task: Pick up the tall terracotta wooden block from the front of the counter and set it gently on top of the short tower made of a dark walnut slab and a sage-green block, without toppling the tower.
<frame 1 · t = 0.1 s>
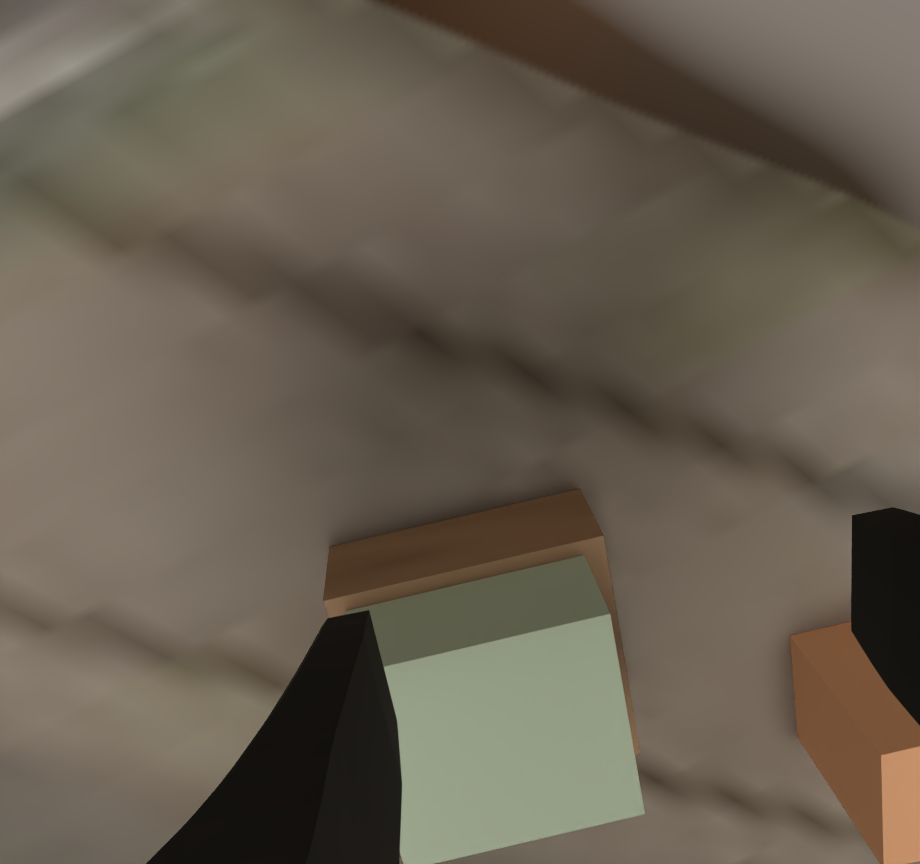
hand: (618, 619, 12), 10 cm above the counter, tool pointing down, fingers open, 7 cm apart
walnut slab: (478, 615, 24), on the counter, touching sage block
terracotta block: (855, 672, 26), on the counter
sage block: (488, 679, 21), point 3 cm above the counter, touching walnut slab
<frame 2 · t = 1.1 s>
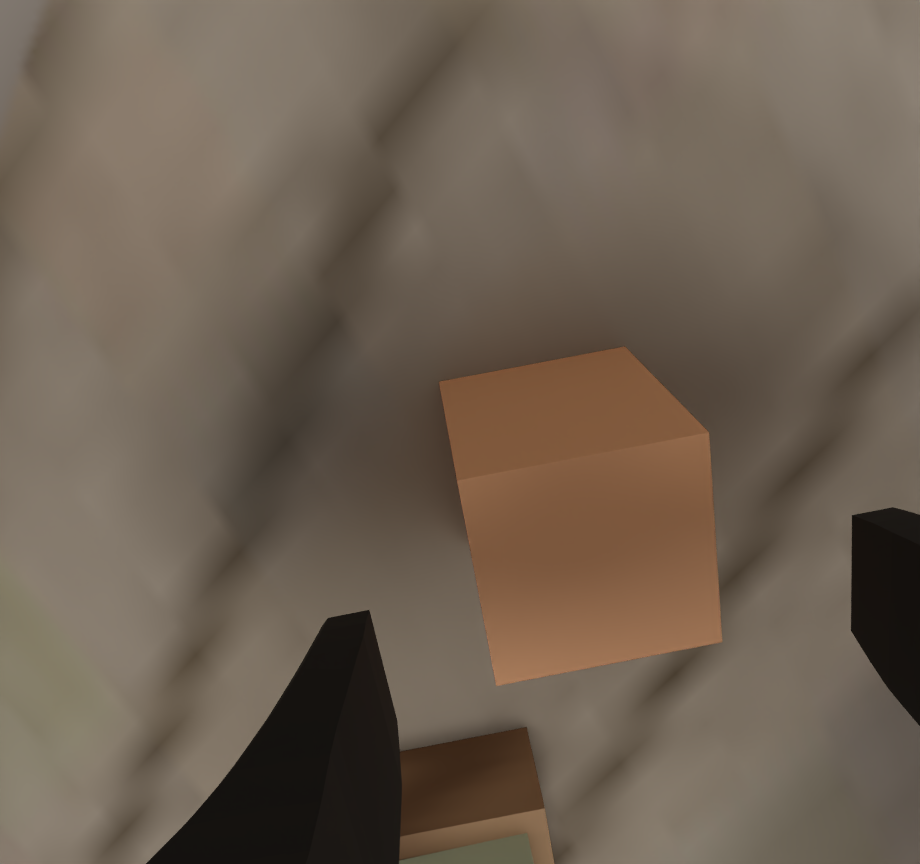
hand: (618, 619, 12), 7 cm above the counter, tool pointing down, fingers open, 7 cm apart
walnut slab: (415, 841, 23), on the counter, touching sage block
terracotta block: (544, 449, 18), on the counter
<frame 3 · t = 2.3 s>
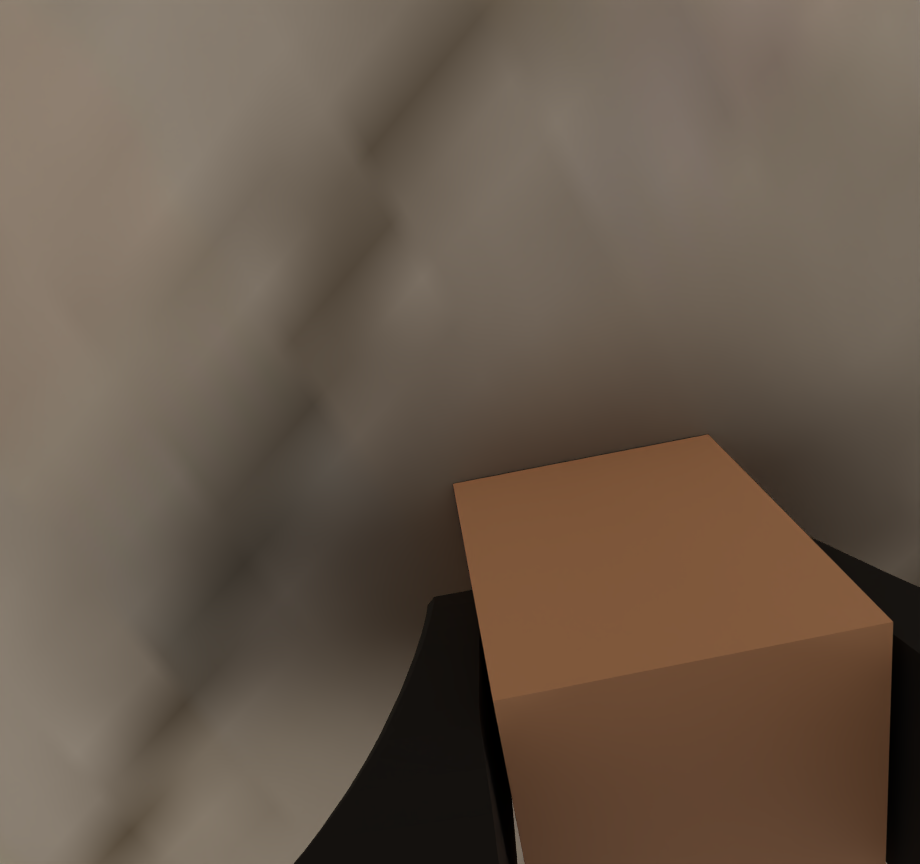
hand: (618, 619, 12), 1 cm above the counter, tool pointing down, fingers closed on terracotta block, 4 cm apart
terracotta block: (595, 569, 14), on the counter, touching gripper
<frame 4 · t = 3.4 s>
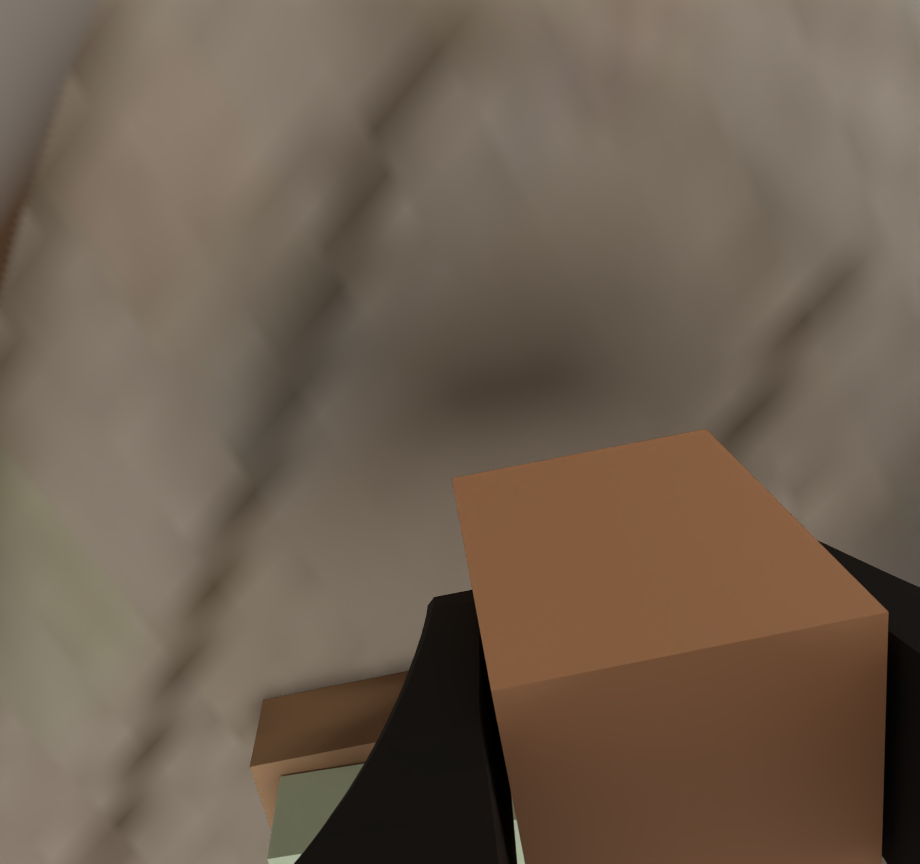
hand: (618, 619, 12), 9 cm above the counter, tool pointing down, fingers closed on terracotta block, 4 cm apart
walnut slab: (408, 759, 25), on the counter
terracotta block: (593, 564, 14), point 8 cm above the counter, touching gripper
sage block: (412, 843, 22), point 3 cm above the counter
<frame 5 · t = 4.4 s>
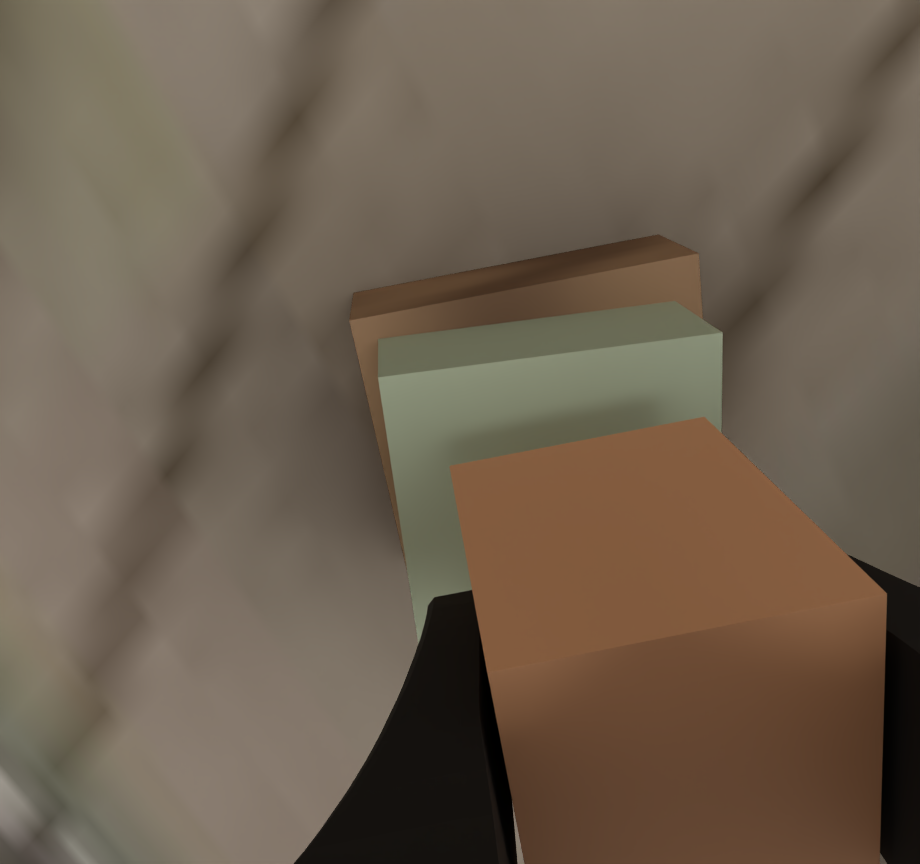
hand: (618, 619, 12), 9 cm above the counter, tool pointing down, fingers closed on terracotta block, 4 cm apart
walnut slab: (525, 401, 20), on the counter, touching sage block
terracotta block: (591, 552, 14), point 7 cm above the counter, touching gripper
sage block: (538, 456, 18), point 3 cm above the counter, touching walnut slab
when the fingers open (8 cm above the counter, at t = 4.9 s): terracotta block drops 1 cm, point 5 cm above the counter.
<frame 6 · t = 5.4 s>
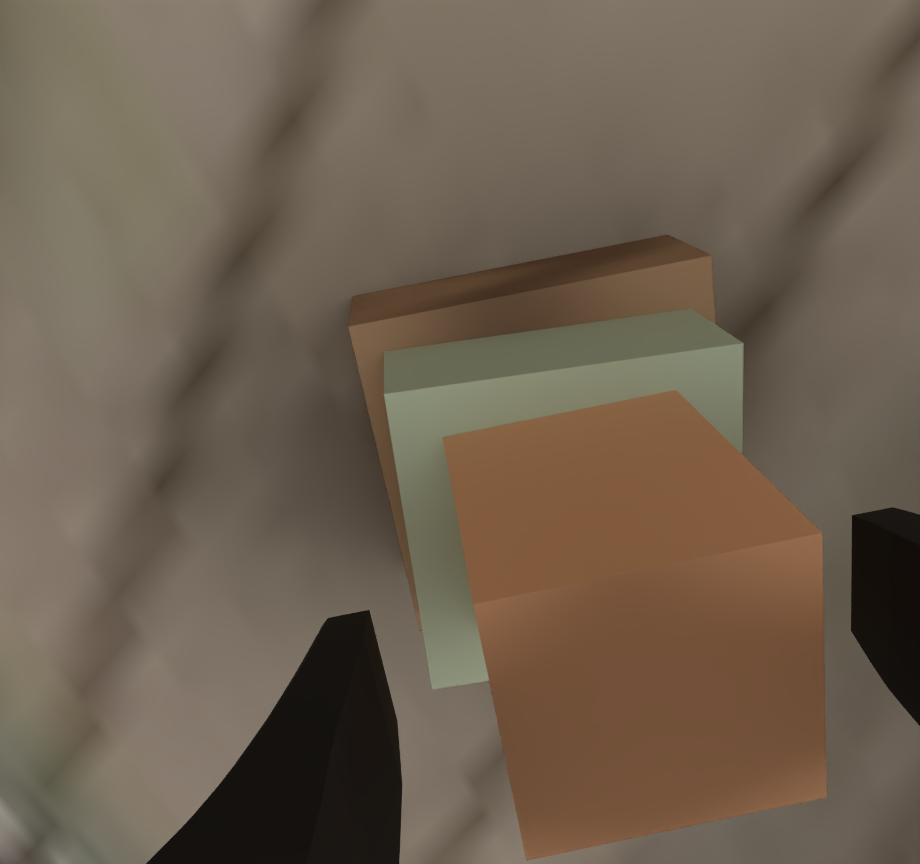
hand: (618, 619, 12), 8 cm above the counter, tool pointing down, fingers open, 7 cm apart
walnut slab: (530, 407, 20), on the counter
terracotta block: (574, 517, 15), point 5 cm above the counter
sage block: (550, 470, 17), point 3 cm above the counter
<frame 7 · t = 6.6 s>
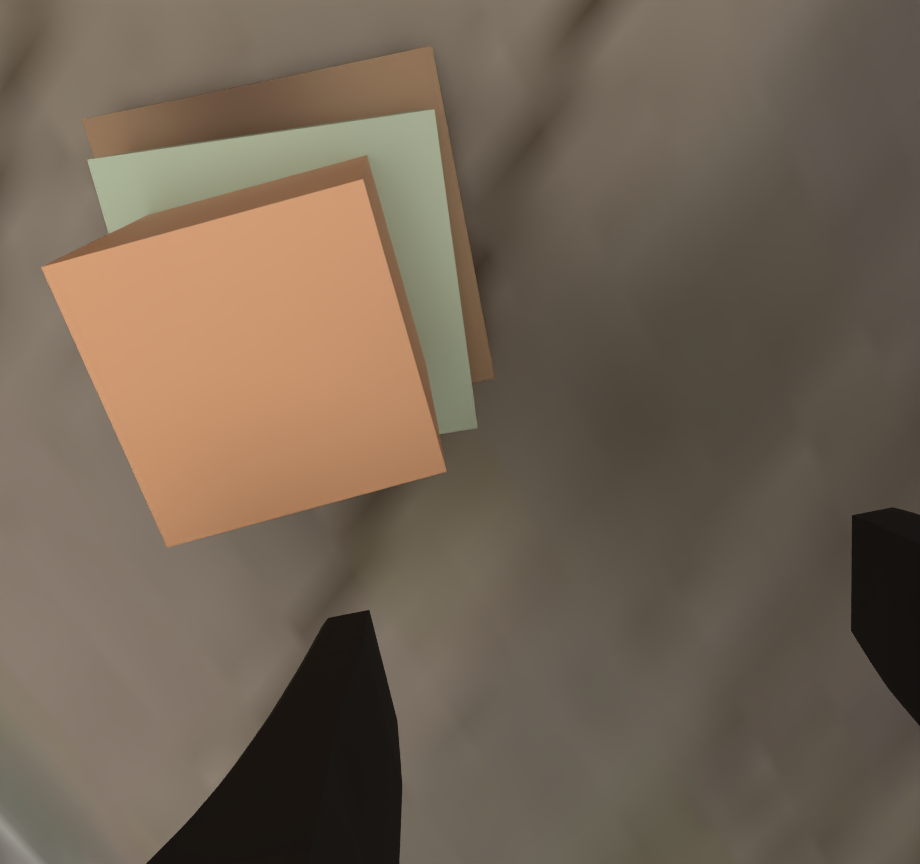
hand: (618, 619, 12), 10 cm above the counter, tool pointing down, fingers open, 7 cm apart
walnut slab: (314, 238, 20), on the counter, touching sage block
terracotta block: (293, 293, 15), point 5 cm above the counter, touching sage block
sage block: (308, 278, 18), point 3 cm above the counter, touching terracotta block, walnut slab
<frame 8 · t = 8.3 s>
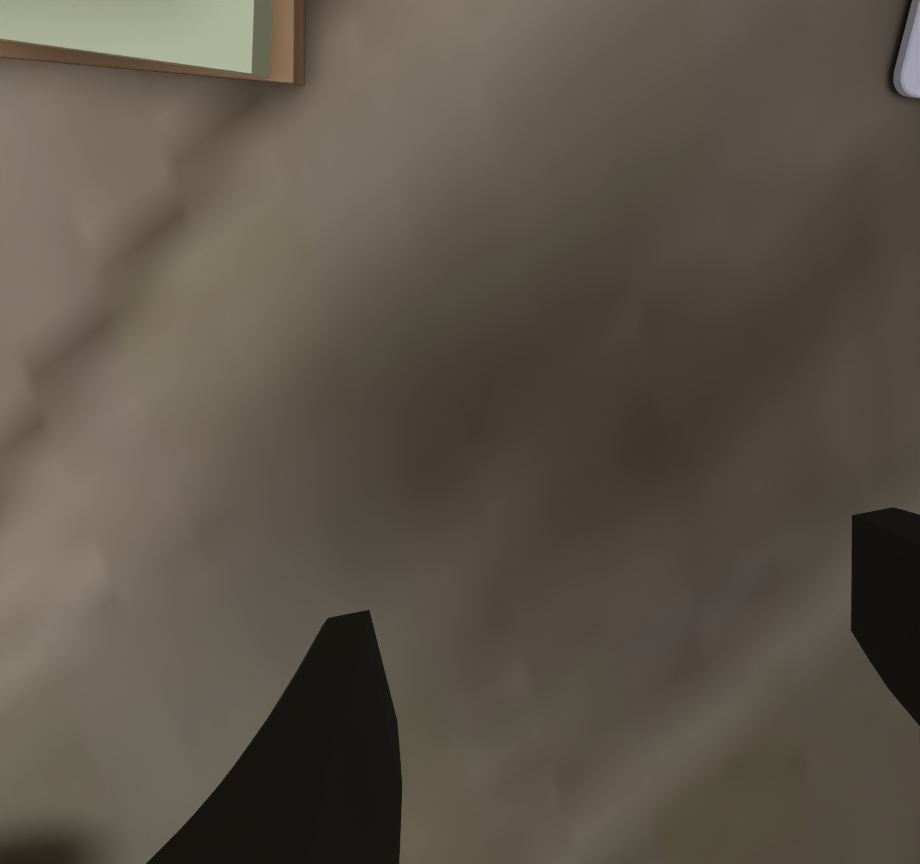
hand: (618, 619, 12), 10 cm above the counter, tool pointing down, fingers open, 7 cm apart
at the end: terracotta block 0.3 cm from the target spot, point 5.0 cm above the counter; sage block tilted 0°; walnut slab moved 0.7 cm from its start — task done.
